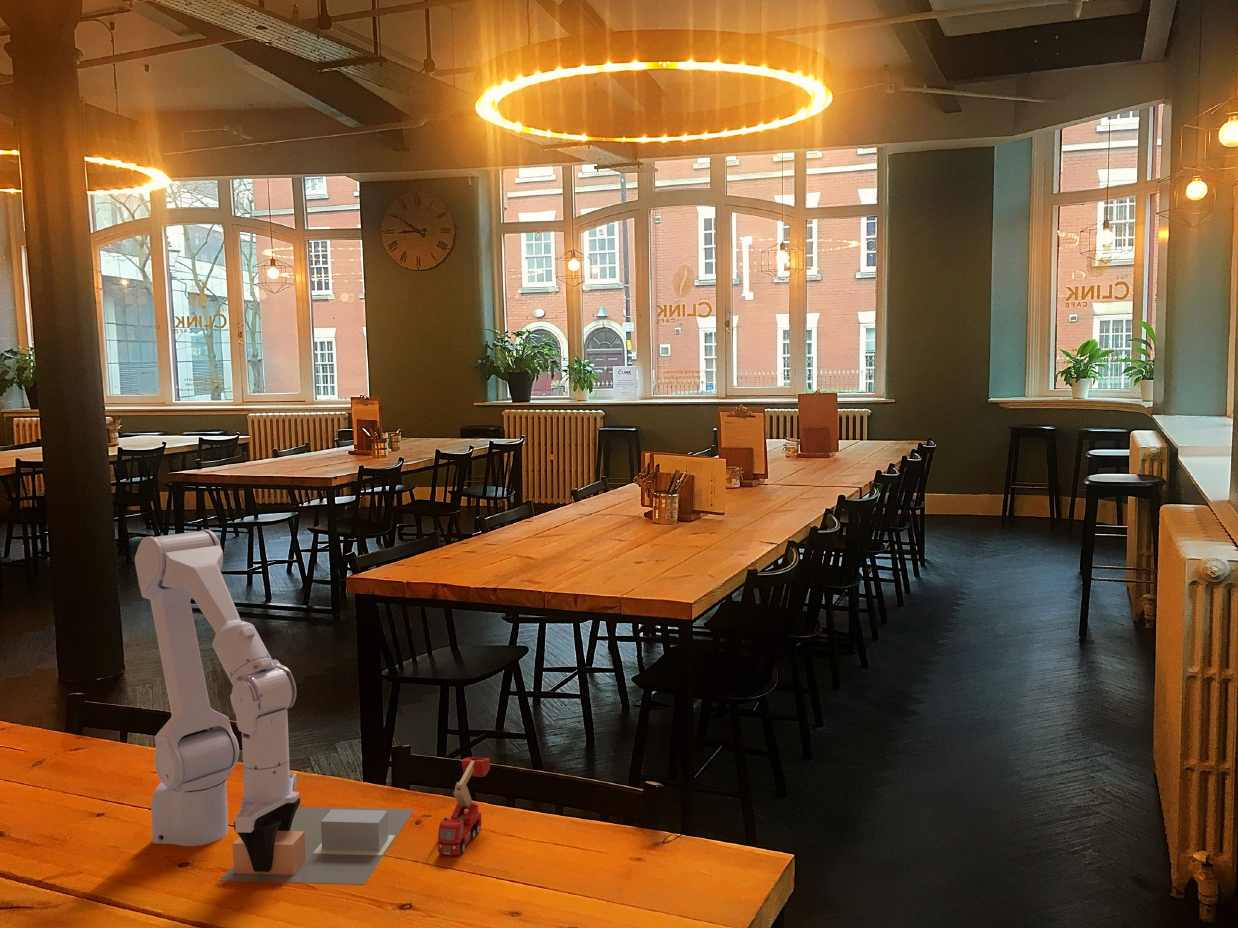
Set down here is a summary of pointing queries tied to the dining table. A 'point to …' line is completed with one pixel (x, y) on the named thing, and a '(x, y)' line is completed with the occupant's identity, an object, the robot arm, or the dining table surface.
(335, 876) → the baseplate
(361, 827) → the slate brick
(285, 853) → the terracotta brick
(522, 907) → the dining table surface
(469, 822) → the toy fire truck
